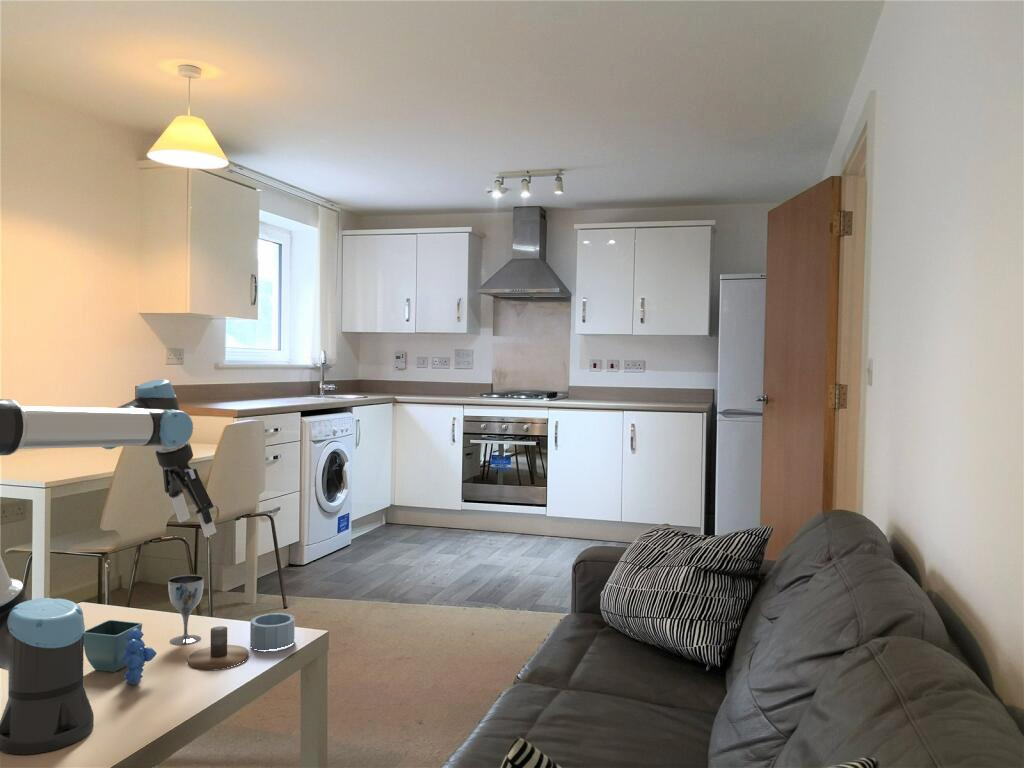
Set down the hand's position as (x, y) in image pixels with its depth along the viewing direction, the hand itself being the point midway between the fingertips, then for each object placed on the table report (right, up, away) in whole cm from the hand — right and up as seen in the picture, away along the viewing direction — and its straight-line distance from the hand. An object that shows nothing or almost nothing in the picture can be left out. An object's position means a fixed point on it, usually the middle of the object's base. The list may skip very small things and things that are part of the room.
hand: (197, 527), depth 187 cm
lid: (+8, -29, -7) cm, 31 cm away
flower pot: (-13, -29, -13) cm, 34 cm away
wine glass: (-5, -29, +5) cm, 29 cm away
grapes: (-4, -29, -22) cm, 36 cm away
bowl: (+17, -29, +3) cm, 33 cm away
